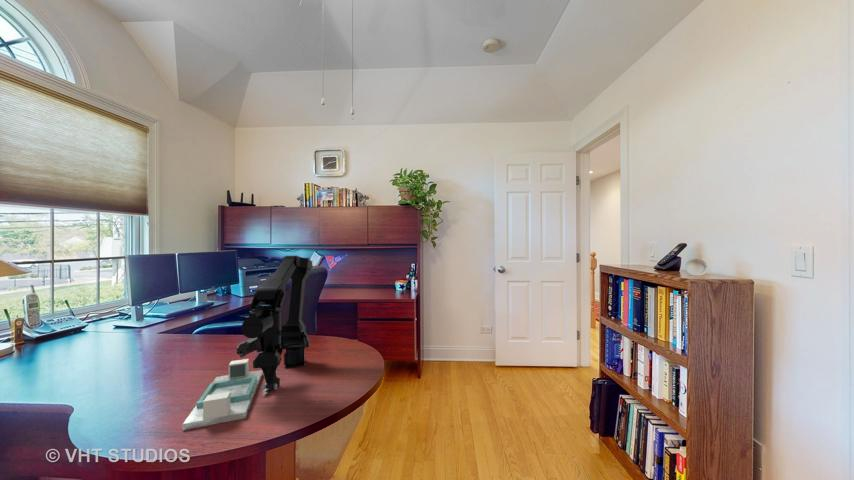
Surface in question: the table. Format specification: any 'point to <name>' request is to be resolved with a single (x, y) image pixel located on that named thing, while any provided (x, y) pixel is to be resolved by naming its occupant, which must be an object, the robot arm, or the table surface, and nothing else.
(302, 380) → the table surface
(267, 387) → the push button
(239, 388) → the teal-edged white tray
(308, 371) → the table surface
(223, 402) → the white padded clamp jaws
